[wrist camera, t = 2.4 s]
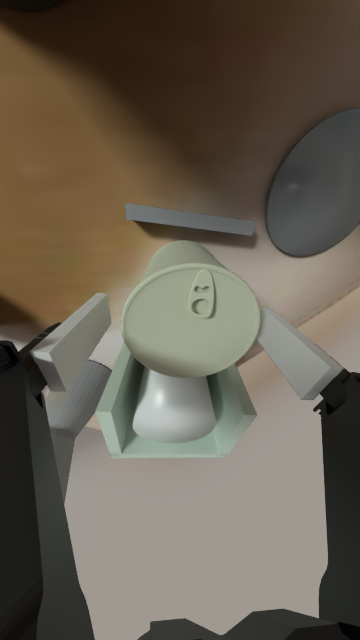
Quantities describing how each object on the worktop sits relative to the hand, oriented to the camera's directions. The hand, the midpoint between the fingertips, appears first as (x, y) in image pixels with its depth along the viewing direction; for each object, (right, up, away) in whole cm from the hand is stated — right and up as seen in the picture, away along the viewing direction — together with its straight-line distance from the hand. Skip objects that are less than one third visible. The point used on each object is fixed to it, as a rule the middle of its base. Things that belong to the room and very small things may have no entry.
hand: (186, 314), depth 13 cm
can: (0, +5, +7) cm, 8 cm away
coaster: (+14, +12, +2) cm, 19 cm away
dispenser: (-1, +1, +9) cm, 9 cm away
